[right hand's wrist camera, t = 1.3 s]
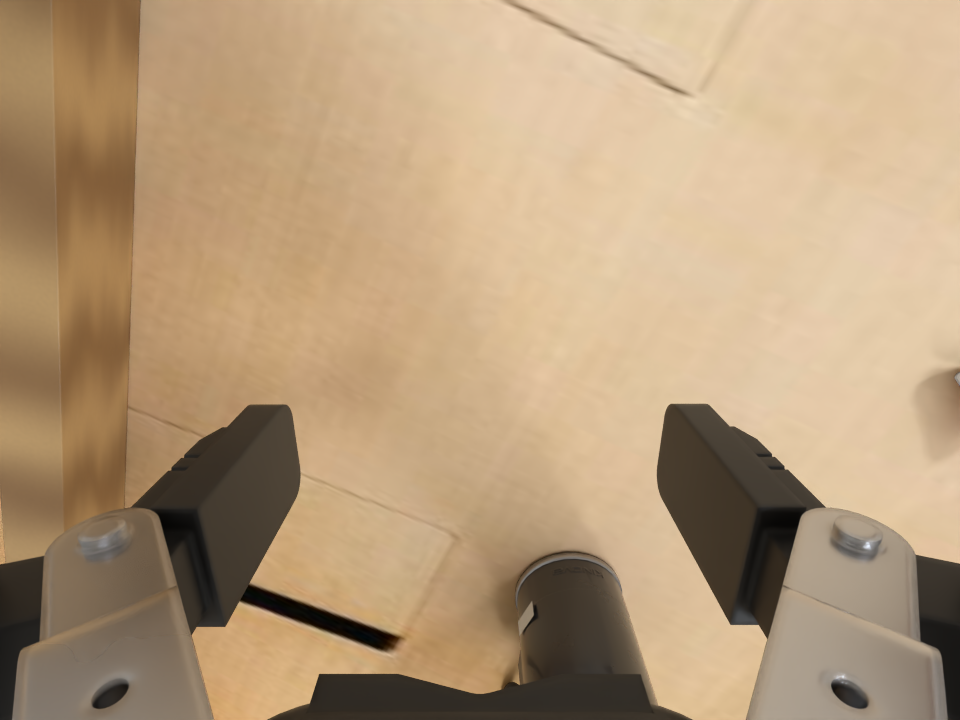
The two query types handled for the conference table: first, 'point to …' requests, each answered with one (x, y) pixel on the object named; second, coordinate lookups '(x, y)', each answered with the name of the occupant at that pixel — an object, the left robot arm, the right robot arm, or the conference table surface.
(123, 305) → the beam
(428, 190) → the conference table surface
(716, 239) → the conference table surface
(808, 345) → the conference table surface
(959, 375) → the fish
